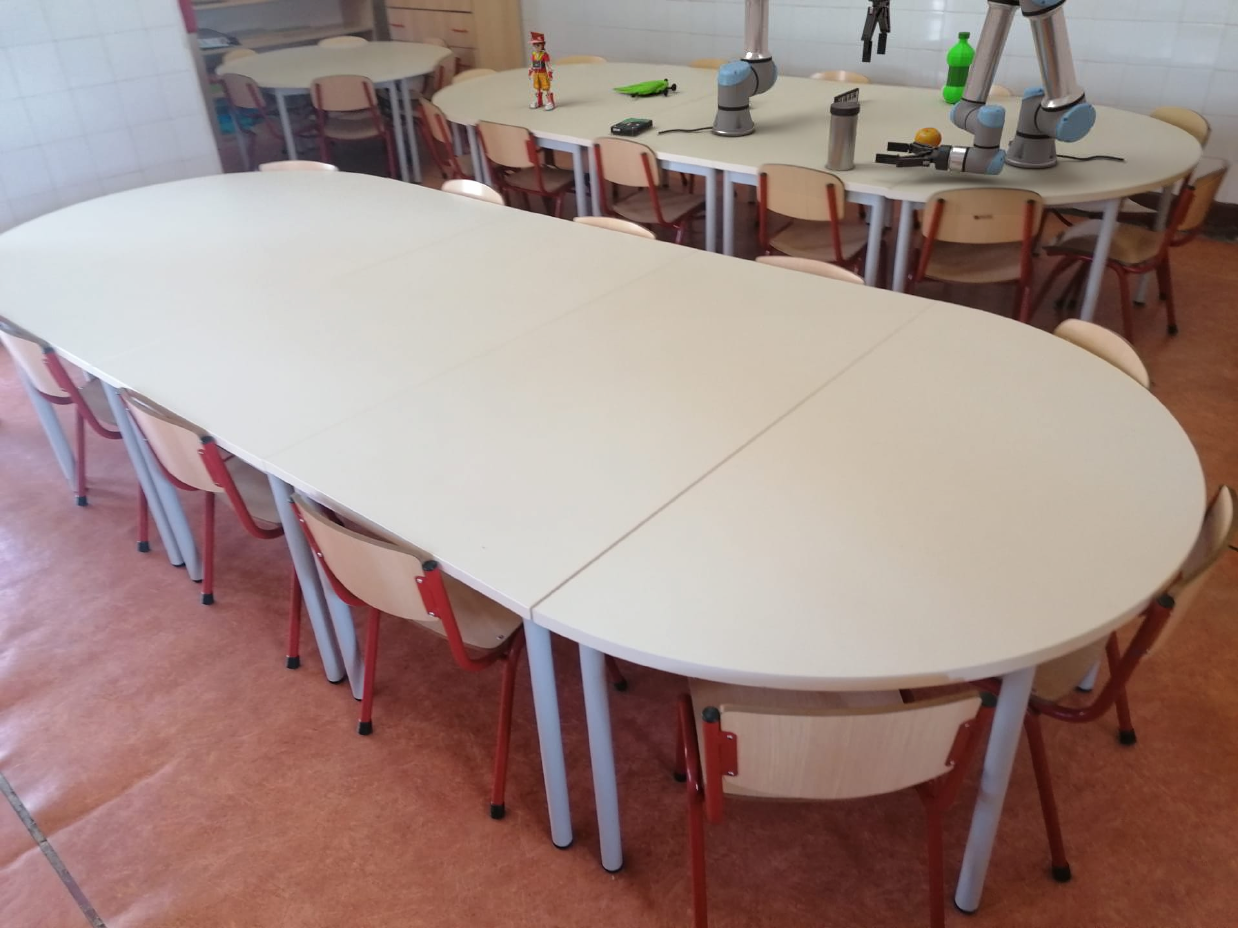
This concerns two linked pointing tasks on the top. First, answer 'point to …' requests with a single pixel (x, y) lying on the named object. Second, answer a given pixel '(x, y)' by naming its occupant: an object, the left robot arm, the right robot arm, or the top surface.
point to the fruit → (928, 136)
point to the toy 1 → (541, 71)
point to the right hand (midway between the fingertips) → (881, 152)
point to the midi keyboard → (848, 96)
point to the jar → (842, 142)
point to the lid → (845, 108)
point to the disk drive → (631, 126)
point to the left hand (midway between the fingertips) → (873, 58)
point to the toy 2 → (648, 88)
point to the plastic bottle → (958, 68)
